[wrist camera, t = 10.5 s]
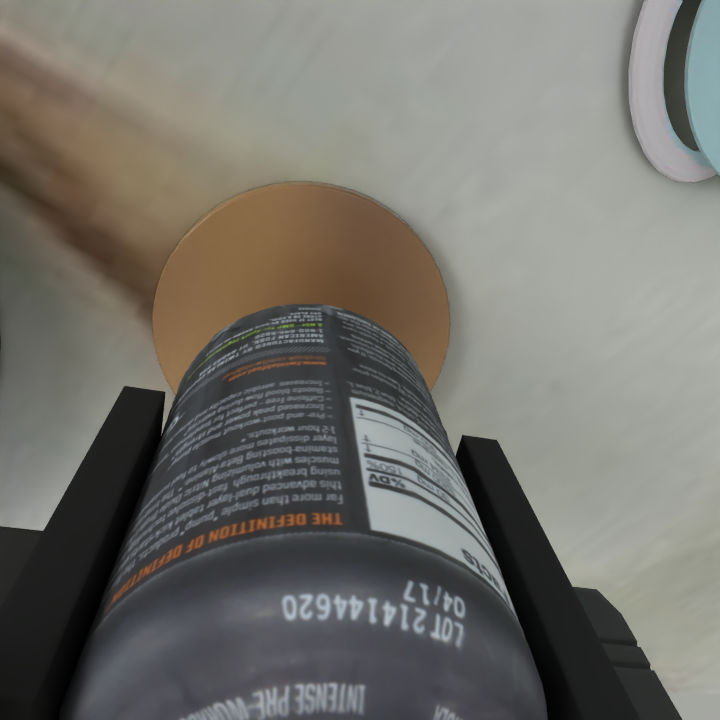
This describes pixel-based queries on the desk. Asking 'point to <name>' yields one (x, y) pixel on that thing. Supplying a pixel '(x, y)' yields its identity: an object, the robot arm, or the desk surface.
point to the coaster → (299, 271)
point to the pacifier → (702, 89)
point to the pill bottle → (305, 548)
